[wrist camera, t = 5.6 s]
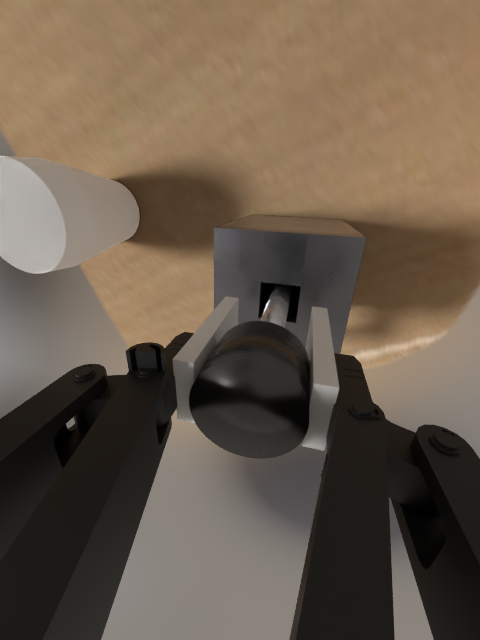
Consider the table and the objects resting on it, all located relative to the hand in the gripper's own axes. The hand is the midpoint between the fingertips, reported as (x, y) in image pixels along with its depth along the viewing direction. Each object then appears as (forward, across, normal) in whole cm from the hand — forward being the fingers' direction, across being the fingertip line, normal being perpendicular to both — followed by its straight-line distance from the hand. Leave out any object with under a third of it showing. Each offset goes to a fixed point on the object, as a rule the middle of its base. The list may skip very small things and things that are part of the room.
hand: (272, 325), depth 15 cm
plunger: (+14, 0, 0) cm, 14 cm away
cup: (+17, -21, +4) cm, 27 cm away
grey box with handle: (+17, 0, -2) cm, 17 cm away
